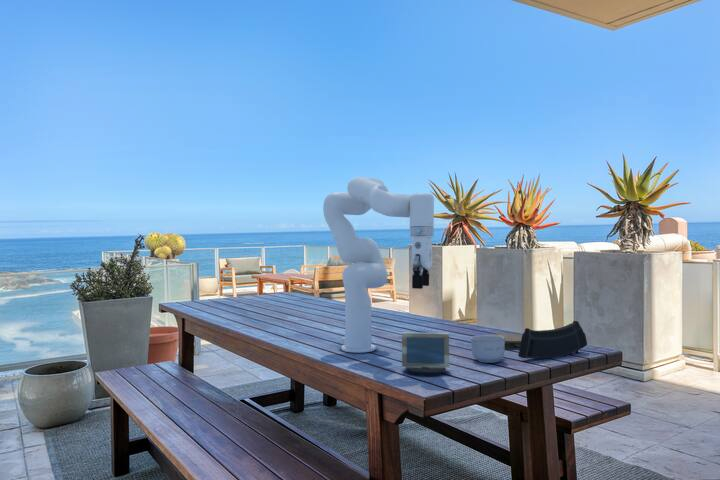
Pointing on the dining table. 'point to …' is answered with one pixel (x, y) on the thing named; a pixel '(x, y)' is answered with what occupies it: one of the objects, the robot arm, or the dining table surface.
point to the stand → (426, 371)
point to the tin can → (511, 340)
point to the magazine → (552, 342)
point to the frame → (425, 349)
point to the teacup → (488, 348)
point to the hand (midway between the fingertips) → (420, 287)
